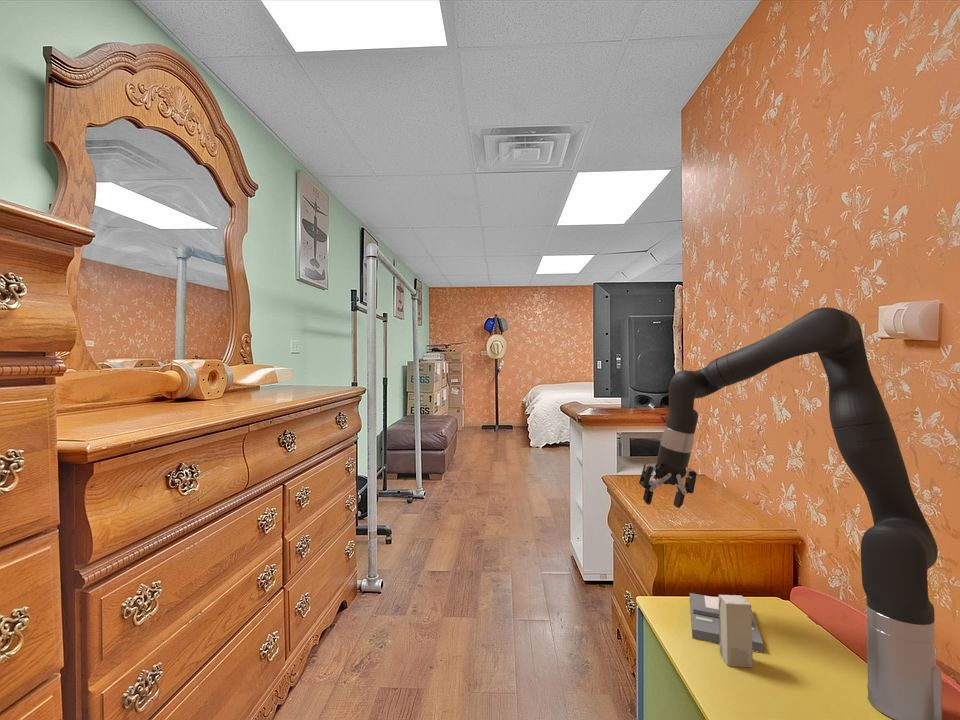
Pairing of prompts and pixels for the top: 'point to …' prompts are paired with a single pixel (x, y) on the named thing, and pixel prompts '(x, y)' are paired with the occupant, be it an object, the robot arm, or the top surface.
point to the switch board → (714, 621)
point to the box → (735, 630)
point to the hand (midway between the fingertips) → (662, 504)
